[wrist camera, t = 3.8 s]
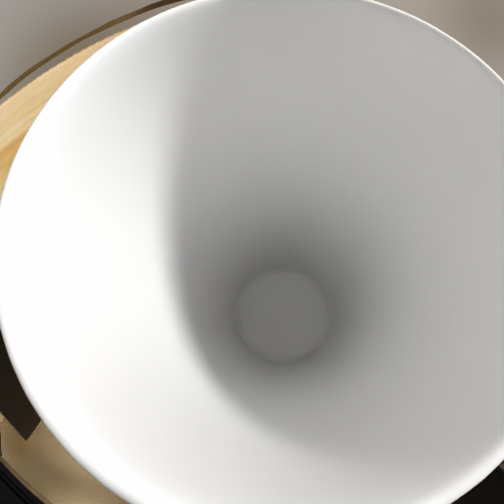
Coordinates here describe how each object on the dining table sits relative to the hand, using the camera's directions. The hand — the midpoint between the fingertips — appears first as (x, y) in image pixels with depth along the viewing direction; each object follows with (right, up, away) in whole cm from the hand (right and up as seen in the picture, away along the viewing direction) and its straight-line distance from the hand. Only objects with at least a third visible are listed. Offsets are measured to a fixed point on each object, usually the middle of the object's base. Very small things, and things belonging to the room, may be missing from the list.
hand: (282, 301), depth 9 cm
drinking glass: (+1, -2, +8) cm, 8 cm away
